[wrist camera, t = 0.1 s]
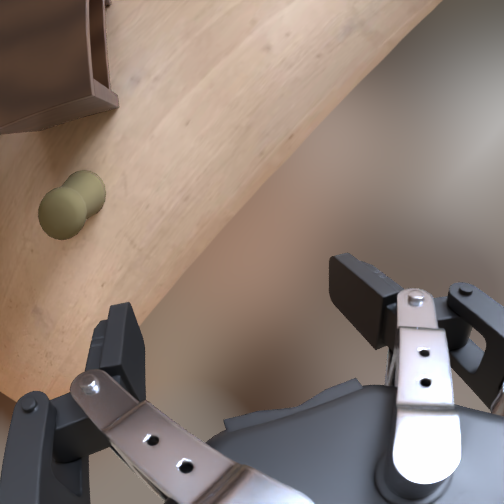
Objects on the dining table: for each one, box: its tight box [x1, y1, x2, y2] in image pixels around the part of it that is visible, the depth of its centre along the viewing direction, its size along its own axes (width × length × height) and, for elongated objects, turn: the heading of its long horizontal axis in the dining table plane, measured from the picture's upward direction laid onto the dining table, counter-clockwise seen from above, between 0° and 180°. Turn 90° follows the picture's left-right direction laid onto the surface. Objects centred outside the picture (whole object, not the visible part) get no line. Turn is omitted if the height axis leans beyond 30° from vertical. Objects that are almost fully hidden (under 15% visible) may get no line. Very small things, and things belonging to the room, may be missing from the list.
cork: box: [38, 170, 106, 240], centre depth 30 cm, size 6×6×11 cm
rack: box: [0, 0, 119, 135], centre depth 22 cm, size 16×11×15 cm
